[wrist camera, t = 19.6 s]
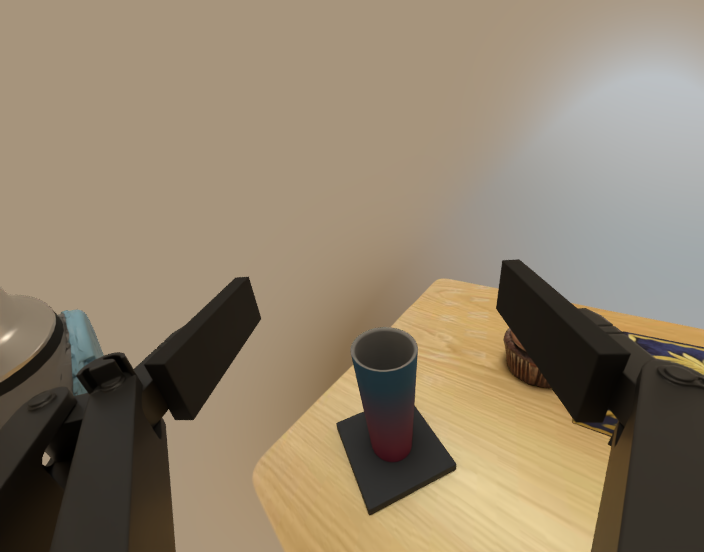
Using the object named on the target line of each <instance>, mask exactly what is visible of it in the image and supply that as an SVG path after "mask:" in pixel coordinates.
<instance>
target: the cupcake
mask: <svg viewBox="0 0 704 552" xmlns="http://www.w3.org/2000/svg"><path fill="white" fill-rule="evenodd" d="M504 344H505V348H506V355H507V364H508V366H509V369H510V370H511V372H512V373H513V374H514V376H516V377H517V378H519V379H520V380H522V381H524V382H526V383H527V384H530V385H536V386H538V387H543V388H551V386H550V385H549V383H548V382H547V381H546V379H545V378H544V376H543V375H542V373H541V372H540V371H539V369H538V368H537V366H536V365H535V363H534V362H533V361H532V359H531V358H530V356H529V355H528V353H527V352H526V351H525V349H524V348H523V346H522V345H521V343H520V342H519V341H518V339H517V338H516V336H515V335H514V333H513V332H512V331H511V329H510V328H509V329H508V330H507V331H506V333H505V336H504Z"/></svg>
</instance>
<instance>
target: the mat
mask: <svg viewBox="0 0 704 552" xmlns="http://www.w3.org/2000/svg"><path fill="white" fill-rule="evenodd" d="M336 424H337V429H338V431H339V434H340V437H341V440H342V442H343V445H344V448H345V450H346V453H347V456H348V459H349V461H350V464H351V467H352V469H353V472H354V475H355V478H356V480H357V483H358V486H359V488H360V491H361V494H362V497H363V499H364V502H365V505H366V508H367V510H368V513H369V515H371V514H373V513H375V512H376V511H378V510H380V509H382V508H384V507H386V506H388V505H390V504H391V503H393V502H395V501H397V500H399V499H401V498H403V497H405V496H406V495H408V494H410V493H412V492H414V491H416V490H418V489H420V488H421V487H423V486H425V485H427V484H429V483H431V482H433V481H435V480H436V479H438V478H440V477H442V476H444V475H446V474H448V473H450V472H451V471H453V470H455V469H456V463H455V461H454V460H453V458H452V457H451V456H450V454H449V453H448V452H447V450H446V449H445V447H444V446H443V445H442V443H441V442H440V440H439V439H438V438H437V436H436V435H435V433H434V432H433V431H432V429H431V428H430V426H429V425H428V424H427V422H426V421H425V419H424V418H423V417H422V415H421V414H420V412H419V411H418V410H417V408H416V407H415V405H414V418H413V434H412V448H411V451H410V453H409V454H408V456H407V457H406V458H404V459H403V460H401V461H398V462H387V461H384V460H382V459H381V458H379V457H378V456H377V455H376V454H375V452H374V450H373V448H372V444H371V440H370V435H369V431H368V426H367V422H366V418H365V413H364V412H362V413H359V414H357V415H355V416H352V417H350V418H347V419H345V420H343V421H340V422H338V423H336Z"/></svg>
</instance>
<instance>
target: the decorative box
mask: <svg viewBox="0 0 704 552" xmlns="http://www.w3.org/2000/svg"><path fill="white" fill-rule="evenodd" d="M622 334H625V335H627V336H628V337H629V338H630V339H632V340H633V341H634V342H636V343H637V344H638V345H639V346H641V347H642V348H643V349H645V350H646V351H647V352H648V353H650V354H651V355H652V356H653V357H655V358H656V359H657V360H666V361H671V362H675V363H679V364H682V365H684V366H687V367H690V368H692V369H694V370H696V371H698V372H699V373H701V374H703V375H704V347H699V346H694V345H689V344H684V343H679V342H674V341H669V340H664V339H659V338H654V337H649V336H644V335H639V334H634V333H628V332H622ZM573 423H575V424H578V425H581V426H584V427H586V428H589V429H592V430H595V431H598V432H600V433H603V434H606V435H609V436H612V434H613V432H614V429H615V427H616V425H617V423H618V419H617V418H616V417H615V416H614V415H613V413H612V412H611V411H610V410H609V409H608V411H607V414H606V416H605V418H604V421H603V423H576V422H575V421H574V419H573Z"/></svg>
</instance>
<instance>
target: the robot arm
mask: <svg viewBox="0 0 704 552" xmlns="http://www.w3.org/2000/svg"><path fill="white" fill-rule="evenodd" d="M496 309H497V310H498V312H499V313H500V315H501V316H502V318H503V319H504V320H505V322H506V323H507V325H508V326H509V328H510V329H511V331H512V332H513V333H514V335H515V336H516V338H517V339H518V341H519V342H520V343H521V345H522V346H523V348H524V349H525V351H526V352H527V353H528V355H529V356H530V358H531V359H532V361H533V362H534V363H535V365H536V366H537V368H538V369H539V371H540V372H541V373H542V375H543V376H544V378H545V379H546V381H547V382H548V383H549V385H550V386H551V388H552V389H553V391H554V392H555V394H556V395H557V396H558V398H559V399H560V401H561V402H562V404H563V405H564V406H565V408H566V409H567V411H568V412H569V414H570V415H571V416H572V418H573V419H574V421H575V422H576V423H603V421H604V418H605V416H606V414H607V411H608V409H609V410H610V411H611V412H612V413H613V415H614V416H615V417H616V418H617V419H618V423H617V425H616V427H615V429H614V432H613V434H612V436H611V438H610V441H609V443H608V445H610V446H611V451H610V456H609V462H608V467H607V472H606V477H605V482H604V487H603V492H602V498H601V503H600V508H599V513H598V518H597V523H596V528H595V533H594V539H593V544H592V549H591V552H704V375H703V374H701V373H699V372H698V371H696V370H694V369H692V368H690V367H687V366H684V365H682V364H679V363H675V362H671V361H666V360H657V359H656V358H655V357H653V356H652V355H651V354H650V353H648V352H647V351H646V350H645V349H643V348H642V347H641V346H639V345H638V344H637V343H636V342H634V341H633V340H632V339H630V338H629V337H628V336H627V335H625V334H622V331H620V330H619V329H618V328H616V327H615V326H613V324H611V323H610V322H609V321H608V320H606V319H605V318H604V317H602V316H601V315H599V314H597V313H595V312H593V311H590V310H588V309H586V308H580V309H577V308H576V307H575V306H574V305H573V304H571V303H570V302H569V301H568V300H567V299H565V298H564V297H563V296H562V295H561V294H560V293H558V292H557V291H556V290H555V289H554V288H552V287H551V286H550V285H549V284H548V283H547V282H545V281H544V280H543V279H542V278H541V277H539V276H538V275H537V274H536V273H535V272H534V271H532V270H531V269H530V268H529V267H528V266H526V265H525V264H524V263H523V262H522V261H520V260H503V261H502V268H501V275H500V284H499V291H498V298H497V306H496ZM260 320H261V316H260V313H259V310H258V306H257V303H256V300H255V296H254V293H253V290H252V286H251V283H250V280H249V277H239V278H235V279H234V280H233V281H232V282H231V283H229V284H228V286H226V287H225V288H224V289H223V290H222V291H221V292H220V293H219V294H218V295H217V296H216V297H215V298H214V299H212V300H211V302H209V303H208V304H207V305H206V306H205V307H204V308H203V309H202V310H201V311H200V312H199V313H198V314H197V315H196V316H194V317H193V318H192V319H191V320H190V321H189V322H188V323H187V324H186V325H185V326H183V327H182V328H180V329H178V330H177V331H175V332H174V333H172V334H171V335H170V336H169V337H168V338H167V339H166V340H165V341H164V342H163V343H161V345H159V346H158V347H157V349H155V350H154V351H153V352H152V353H151V354H150V355H148V357H146V358H145V359H144V360H143V361H142V362H141V363H140V364H139V365H138V366H137V367H136V368H135V369H133V368H132V366H131V364H130V363H129V361H128V359H127V357H126V356H125V354H124V353H120V352H119V353H111V354H108V355H105V356H104V355H103V352H102V350H101V347H100V344H99V342H98V339H97V336H96V334H95V332H94V329H93V327H92V325H91V323H90V320H89V319H88V317H87V315H86V314H85V313H84V312H83V311H81V310H72V311H67V310H66V311H63V312H61V314H59V315H57V314H56V313H55V312H54V311H53V310H52V309H51V307H50V306H48V305H47V304H46V303H45V302H43V301H42V300H40V299H37V298H34V297H30V296H23V295H8V294H7V293H6V292H5V291H4V290H3V289H2V288H1V287H0V552H176V550H175V537H174V524H173V513H172V499H171V487H170V475H169V474H170V473H169V461H168V449H167V435H166V424H165V422H164V420H163V418H162V417H163V416H164V414H165V413H166V412H167V410H168V409H169V410H170V412H171V414H172V416H173V417H174V419H175V420H194V419H195V417H196V416H197V414H198V412H199V411H200V410H201V408H202V406H203V405H204V404H205V402H206V401H207V399H208V398H209V396H210V395H211V393H212V392H213V390H214V389H215V387H216V385H217V384H218V383H219V381H220V380H221V378H222V376H223V375H224V374H225V372H226V371H227V369H228V368H229V366H230V365H231V363H232V362H233V360H234V359H235V357H236V355H237V354H238V353H239V351H240V350H241V348H242V347H243V345H244V344H245V342H246V341H247V339H248V338H249V336H250V335H251V333H252V332H253V330H254V329H255V327H256V326H257V324H258V323H259V321H260ZM44 452H46V453H47V454H48V455H49V456H50V457H51V458H50V460H49V462H48V463H47V465H46V466H44V465H42V457H43V454H44Z"/></svg>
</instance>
